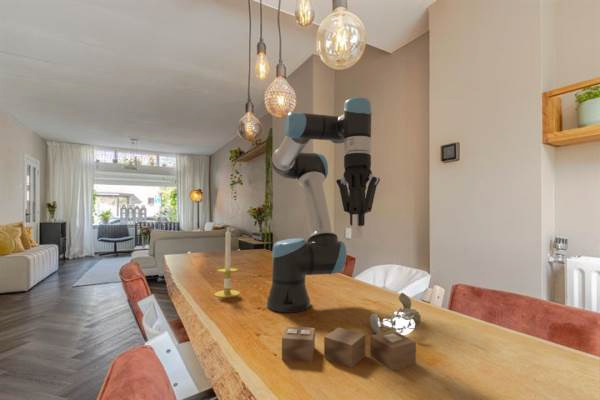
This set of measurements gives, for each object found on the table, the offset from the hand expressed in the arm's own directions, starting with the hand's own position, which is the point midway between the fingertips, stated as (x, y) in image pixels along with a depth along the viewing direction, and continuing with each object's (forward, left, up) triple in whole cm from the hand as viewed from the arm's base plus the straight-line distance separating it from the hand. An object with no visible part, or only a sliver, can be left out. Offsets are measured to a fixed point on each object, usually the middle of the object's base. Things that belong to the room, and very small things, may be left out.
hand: (357, 237), depth 85 cm
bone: (+8, +17, -27) cm, 33 cm away
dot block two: (-4, -20, -27) cm, 34 cm away
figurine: (+7, +7, -27) cm, 29 cm away
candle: (-58, -2, -27) cm, 64 cm away
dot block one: (+14, -8, -27) cm, 31 cm away
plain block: (+5, -14, -27) cm, 30 cm away
